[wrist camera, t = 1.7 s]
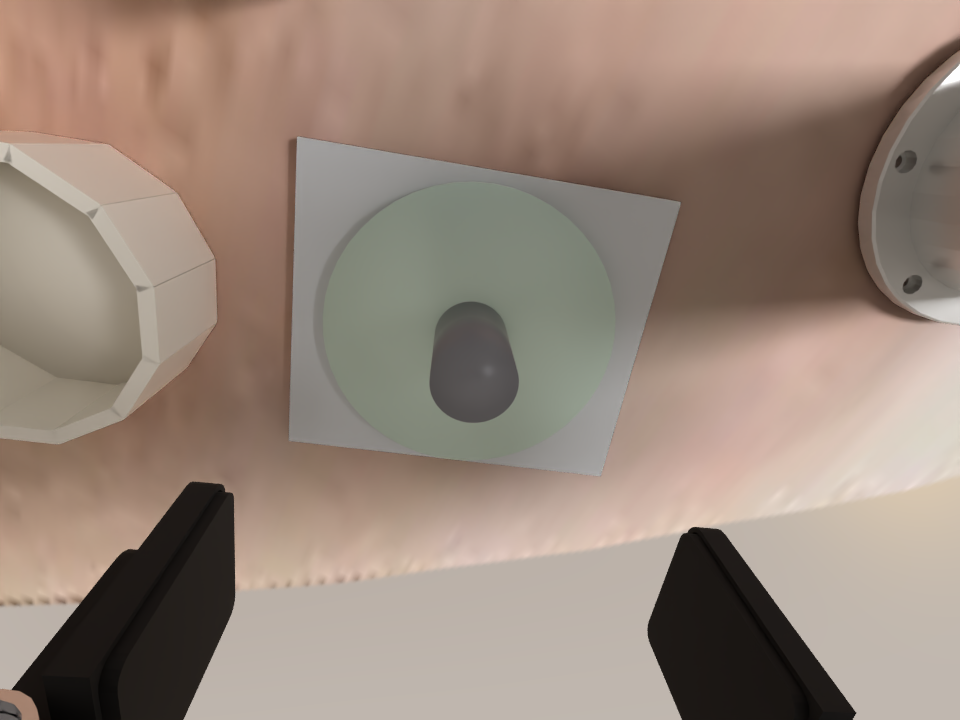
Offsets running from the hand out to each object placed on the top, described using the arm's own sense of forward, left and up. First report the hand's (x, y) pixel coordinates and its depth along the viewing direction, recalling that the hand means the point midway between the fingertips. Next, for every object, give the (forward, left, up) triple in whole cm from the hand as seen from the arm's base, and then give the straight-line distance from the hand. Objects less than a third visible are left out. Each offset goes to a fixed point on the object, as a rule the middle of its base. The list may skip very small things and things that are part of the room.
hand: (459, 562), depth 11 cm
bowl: (+16, 0, -15) cm, 22 cm away
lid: (-1, 0, -14) cm, 14 cm away
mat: (-1, 0, -15) cm, 15 cm away
